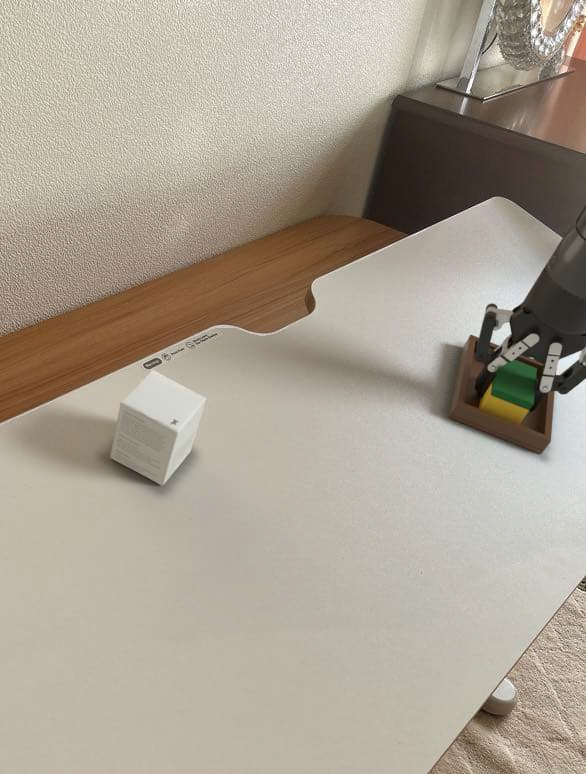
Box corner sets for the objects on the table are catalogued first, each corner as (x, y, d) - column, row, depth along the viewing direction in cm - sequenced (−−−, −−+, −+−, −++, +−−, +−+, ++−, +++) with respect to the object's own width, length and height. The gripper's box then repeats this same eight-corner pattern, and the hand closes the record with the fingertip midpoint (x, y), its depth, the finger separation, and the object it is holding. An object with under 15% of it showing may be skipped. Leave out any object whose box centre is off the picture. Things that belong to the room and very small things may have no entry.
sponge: (483, 379, 105) (499, 353, 102) (519, 394, 105) (537, 368, 102) (477, 414, 100) (494, 388, 97) (515, 429, 100) (533, 403, 97)
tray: (462, 347, 110) (470, 334, 108) (547, 380, 109) (556, 367, 107) (448, 417, 100) (456, 404, 98) (541, 454, 99) (551, 441, 98)
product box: (191, 452, 88) (209, 398, 82) (162, 488, 84) (178, 433, 78) (138, 424, 89) (152, 367, 83) (107, 457, 85) (119, 401, 79)
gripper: (649, 283, 92) (560, 405, 104) (518, 233, 92) (446, 360, 105) (651, 322, 87) (557, 444, 100) (513, 268, 87) (438, 396, 100)
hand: (501, 400), depth 102 cm, fingers closed on sponge, 4 cm apart
